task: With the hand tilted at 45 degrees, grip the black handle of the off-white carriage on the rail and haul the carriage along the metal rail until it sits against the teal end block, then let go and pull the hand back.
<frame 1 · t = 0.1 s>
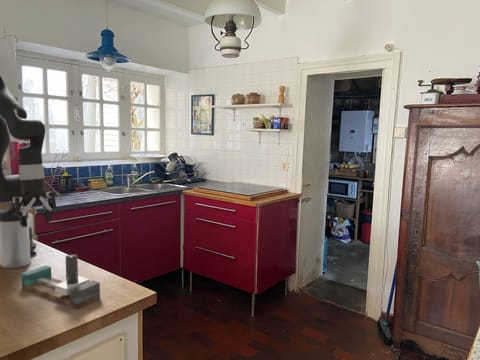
hand: (36, 223, 126), 17 cm above the counter, tool pointing down, fingers open, 8 cm apart
rail: (60, 293, 112), on the counter
carriage: (72, 272, 108), point 8 cm above the counter, slide at 6.0 cm
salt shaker: (28, 254, 146), on the counter
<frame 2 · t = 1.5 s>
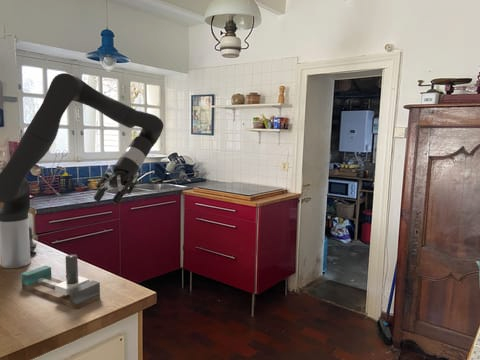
hand: (104, 201, 117), 27 cm above the counter, tool tilted 45°, fingers open, 8 cm apart
nothing on the counter moved.
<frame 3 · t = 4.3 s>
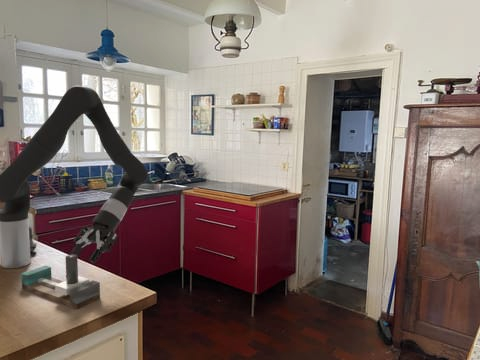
hand: (82, 259, 111), 11 cm above the counter, tool tilted 45°, fingers open, 8 cm apart
nothing on the counter moved.
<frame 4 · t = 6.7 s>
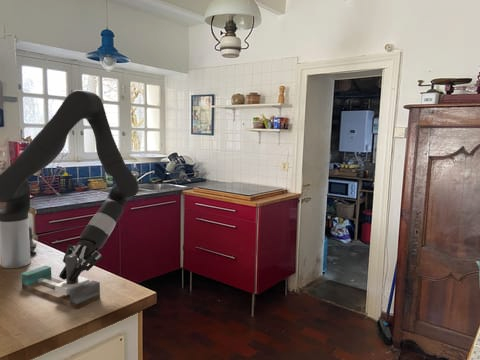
hand: (66, 279, 107), 6 cm above the counter, tool tilted 45°, fingers closed on carriage, 3 cm apart
carriage: (72, 272, 108), point 8 cm above the counter, slide at 6.0 cm, touching gripper
everything else where it was.
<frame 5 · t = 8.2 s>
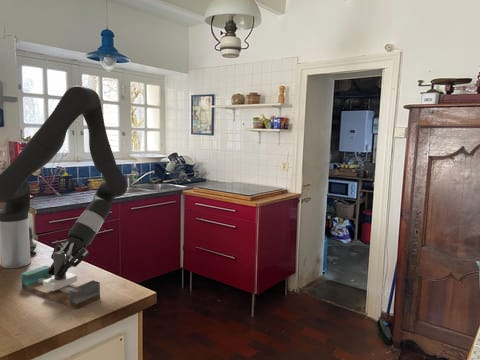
hand: (54, 275, 109), 6 cm above the counter, tool tilted 45°, fingers closed on carriage, 3 cm apart
carriage: (59, 268, 111), point 8 cm above the counter, slide at 0.3 cm, touching gripper
everything else where it was.
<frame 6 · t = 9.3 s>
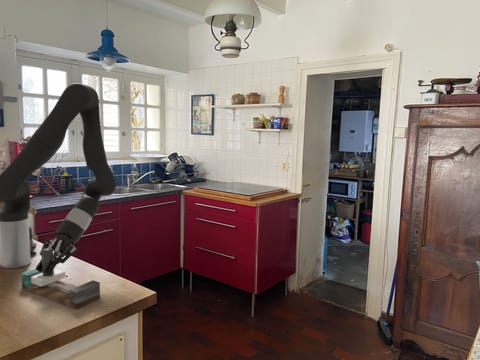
hand: (42, 271, 112), 6 cm above the counter, tool tilted 45°, fingers closed on carriage, 3 cm apart
carriage: (47, 265, 113), point 8 cm above the counter, slide at -5.4 cm, touching gripper
everything else where it was.
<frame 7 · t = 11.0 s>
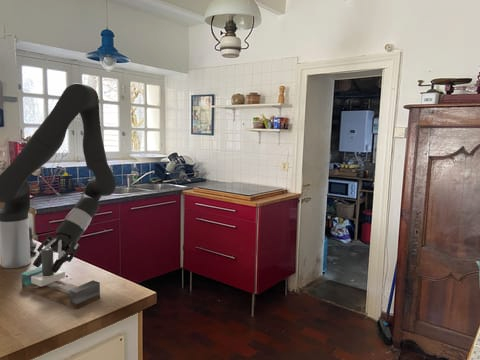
hand: (43, 268, 112), 7 cm above the counter, tool tilted 45°, fingers open, 8 cm apart
carriage: (47, 264, 113), point 8 cm above the counter, slide at -5.5 cm
everything else where it was.
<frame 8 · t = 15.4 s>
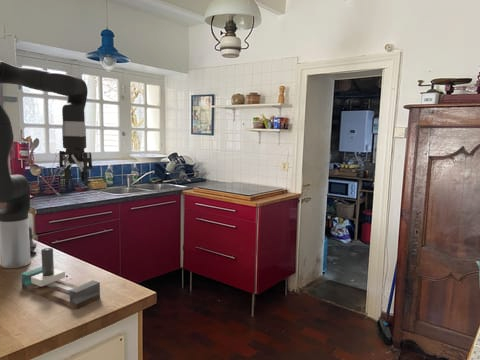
hand: (76, 180, 129), 32 cm above the counter, tool pointing down, fingers open, 8 cm apart
nothing on the counter moved.
at the end: carriage slide at -5.5 cm; the gripper is holding nothing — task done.
